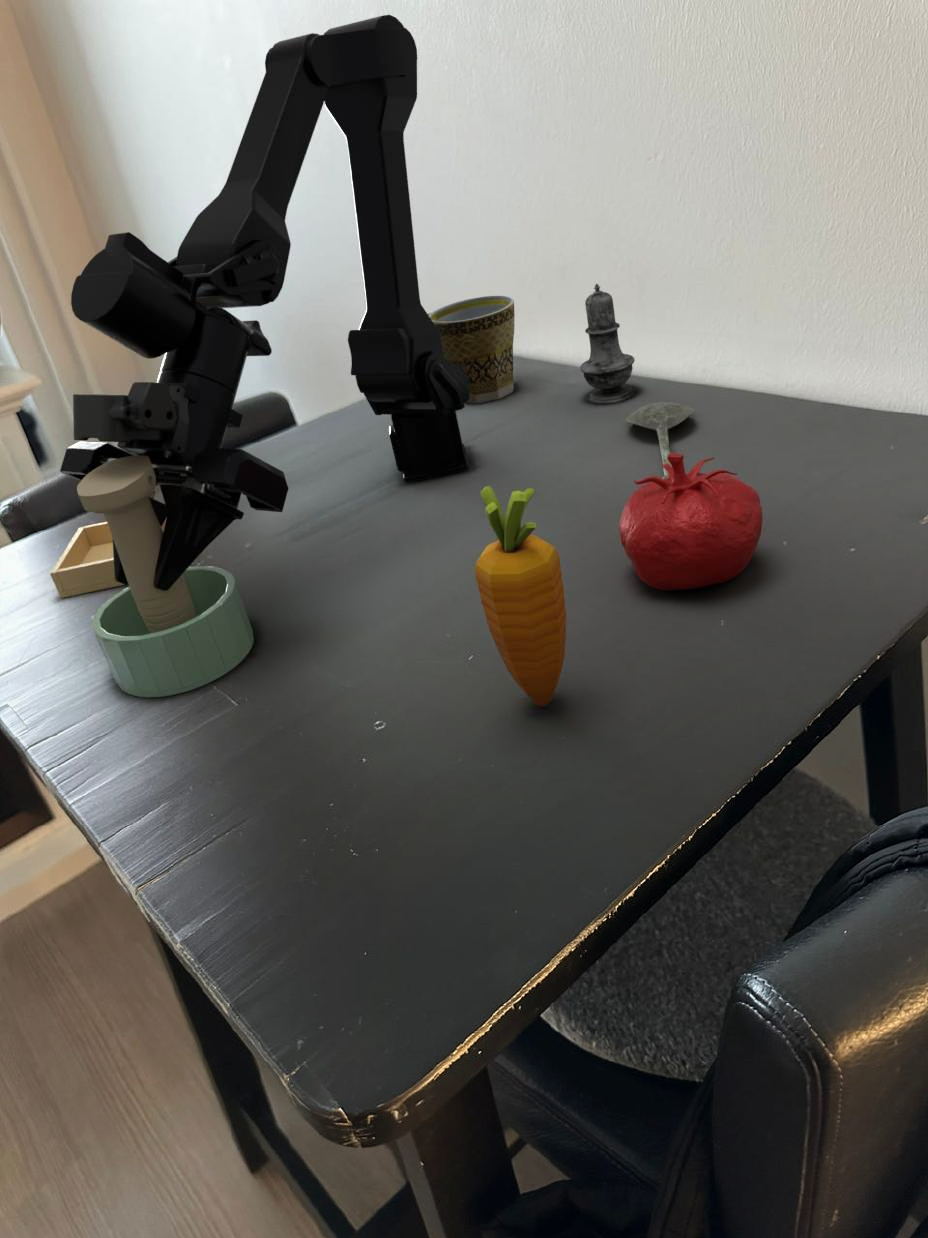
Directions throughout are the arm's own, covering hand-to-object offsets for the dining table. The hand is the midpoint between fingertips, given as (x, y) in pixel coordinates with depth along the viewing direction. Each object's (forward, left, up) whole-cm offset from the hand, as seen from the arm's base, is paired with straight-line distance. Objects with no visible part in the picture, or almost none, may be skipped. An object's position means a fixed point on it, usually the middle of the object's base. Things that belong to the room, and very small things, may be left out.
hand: (140, 586), depth 75 cm
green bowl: (-1, -1, -7) cm, 7 cm away
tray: (+9, -22, -7) cm, 25 cm away
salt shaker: (-42, -40, -7) cm, 58 cm away
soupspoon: (-43, -20, -7) cm, 48 cm away
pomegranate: (-40, +2, -7) cm, 40 cm away
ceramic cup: (-28, -51, -7) cm, 59 cm away
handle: (-1, -1, -7) cm, 7 cm away
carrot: (-27, +15, -7) cm, 32 cm away
